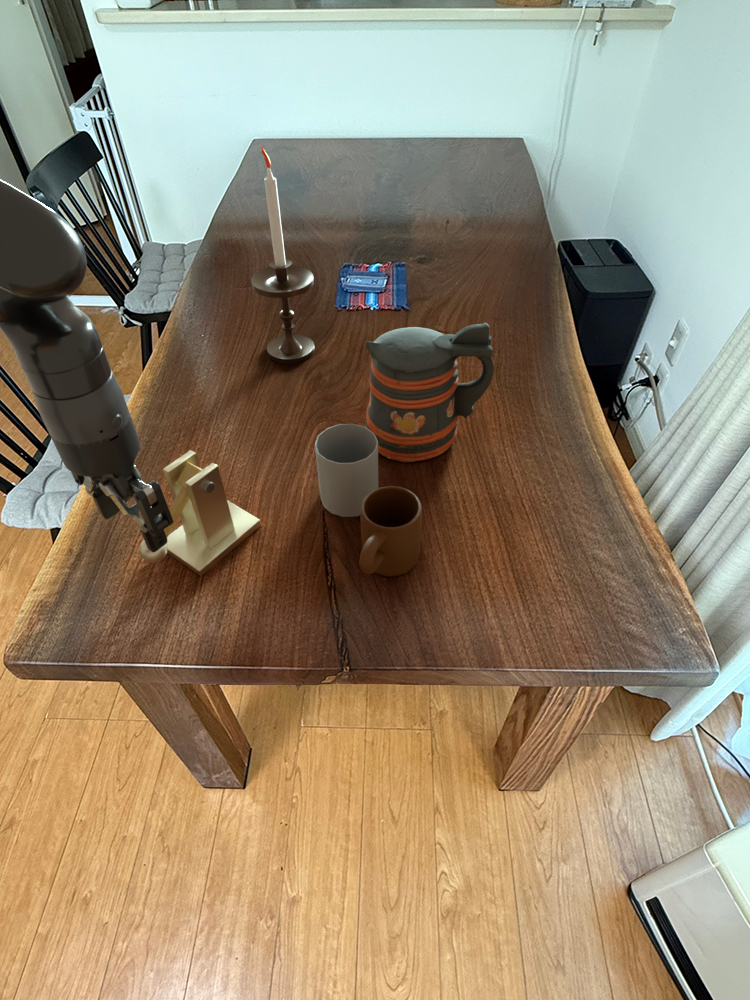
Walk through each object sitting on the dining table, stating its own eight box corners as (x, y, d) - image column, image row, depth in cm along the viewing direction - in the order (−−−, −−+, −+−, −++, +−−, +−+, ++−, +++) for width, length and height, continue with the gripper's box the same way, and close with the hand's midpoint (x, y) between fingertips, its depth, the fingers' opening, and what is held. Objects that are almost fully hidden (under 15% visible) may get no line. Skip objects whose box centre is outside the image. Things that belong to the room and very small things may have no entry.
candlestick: (251, 356, 114) (214, 150, 89) (285, 331, 120) (259, 132, 95) (297, 372, 110) (273, 161, 85) (330, 345, 116) (316, 142, 91)
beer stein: (477, 406, 102) (493, 295, 88) (487, 464, 91) (507, 348, 77) (366, 406, 102) (363, 295, 88) (364, 463, 92) (361, 348, 77)
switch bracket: (201, 576, 77) (176, 507, 68) (160, 548, 80) (132, 479, 71) (261, 525, 83) (246, 455, 74) (221, 501, 86) (202, 432, 77)
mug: (393, 613, 72) (394, 565, 66) (337, 593, 75) (332, 544, 68) (427, 544, 80) (431, 494, 73) (375, 527, 82) (375, 478, 76)
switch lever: (164, 568, 74) (146, 565, 71) (147, 556, 75) (129, 552, 72) (216, 477, 74) (200, 469, 72) (198, 466, 76) (182, 459, 73)
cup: (328, 473, 90) (323, 420, 83) (381, 479, 89) (381, 426, 82) (315, 513, 84) (308, 460, 77) (372, 520, 83) (371, 467, 76)
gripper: (11, 410, 59) (70, 522, 70) (99, 467, 53) (148, 579, 64) (78, 376, 63) (123, 487, 75) (167, 425, 57) (201, 538, 69)
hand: (134, 530), depth 69 cm, fingers open, 8 cm apart
